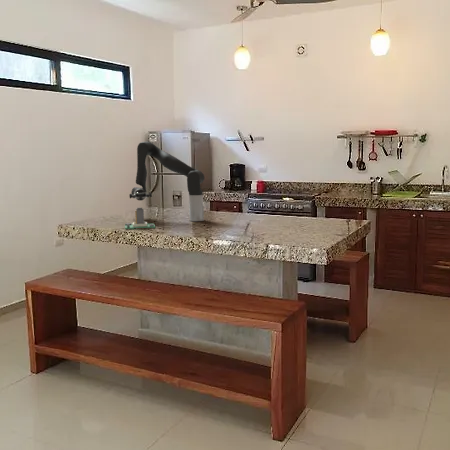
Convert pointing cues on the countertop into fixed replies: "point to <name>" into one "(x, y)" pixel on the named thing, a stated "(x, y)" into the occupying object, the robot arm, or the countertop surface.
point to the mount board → (139, 225)
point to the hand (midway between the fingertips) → (141, 196)
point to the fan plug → (139, 216)
